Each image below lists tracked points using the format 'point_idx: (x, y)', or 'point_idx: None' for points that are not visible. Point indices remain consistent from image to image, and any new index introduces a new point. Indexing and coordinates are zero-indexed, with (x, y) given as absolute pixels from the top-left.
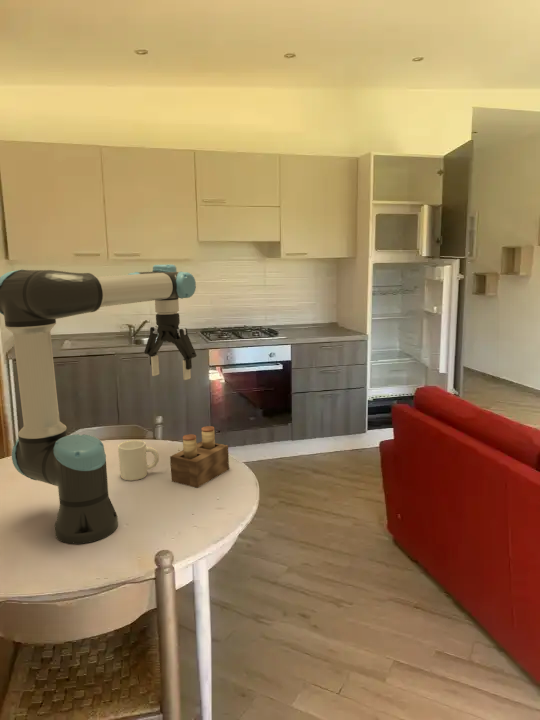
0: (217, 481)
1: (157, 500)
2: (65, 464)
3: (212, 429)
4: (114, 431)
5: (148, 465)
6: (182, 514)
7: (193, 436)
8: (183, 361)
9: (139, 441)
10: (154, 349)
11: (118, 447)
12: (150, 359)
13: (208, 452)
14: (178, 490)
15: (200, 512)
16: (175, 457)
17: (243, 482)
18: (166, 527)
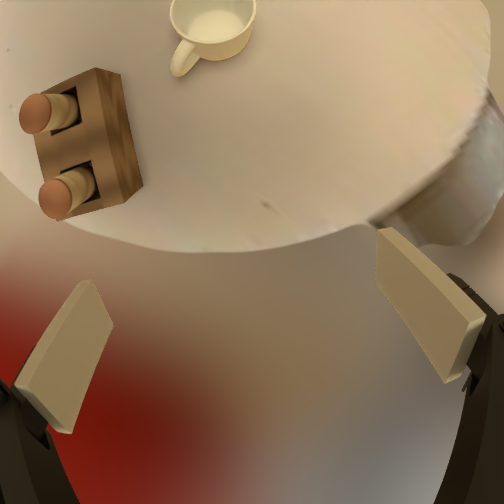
0: None
1: (78, 17)
2: None
3: (39, 202)
4: (469, 202)
5: (191, 54)
6: (17, 35)
7: (26, 123)
8: (24, 374)
9: (224, 39)
10: (491, 406)
11: None
12: (479, 303)
13: (49, 157)
14: (77, 65)
15: (3, 61)
16: (79, 74)
17: (26, 180)
18: (14, 5)
